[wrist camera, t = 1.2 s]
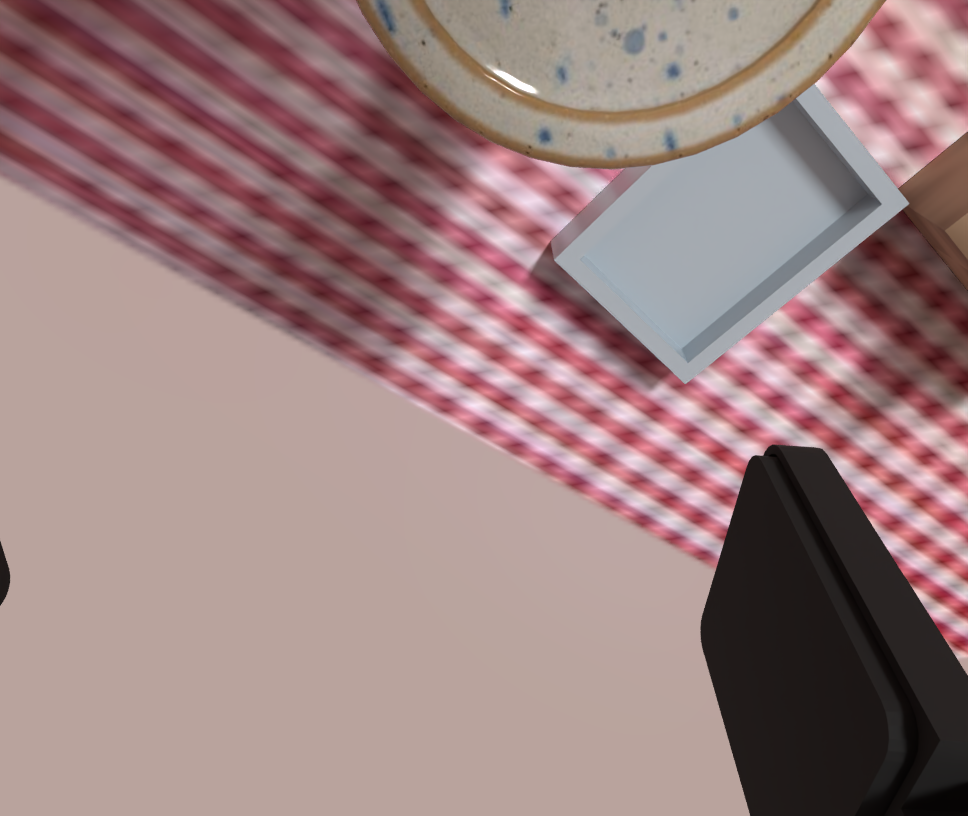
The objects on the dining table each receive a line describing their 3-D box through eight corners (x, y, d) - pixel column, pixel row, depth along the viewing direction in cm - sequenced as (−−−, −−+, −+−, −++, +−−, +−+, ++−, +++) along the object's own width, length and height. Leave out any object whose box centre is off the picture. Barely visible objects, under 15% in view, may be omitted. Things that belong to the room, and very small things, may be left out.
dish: (762, 34, 32) (780, 41, 30) (884, 187, 35) (909, 203, 33) (550, 241, 37) (554, 260, 35) (675, 360, 40) (685, 384, 38)
